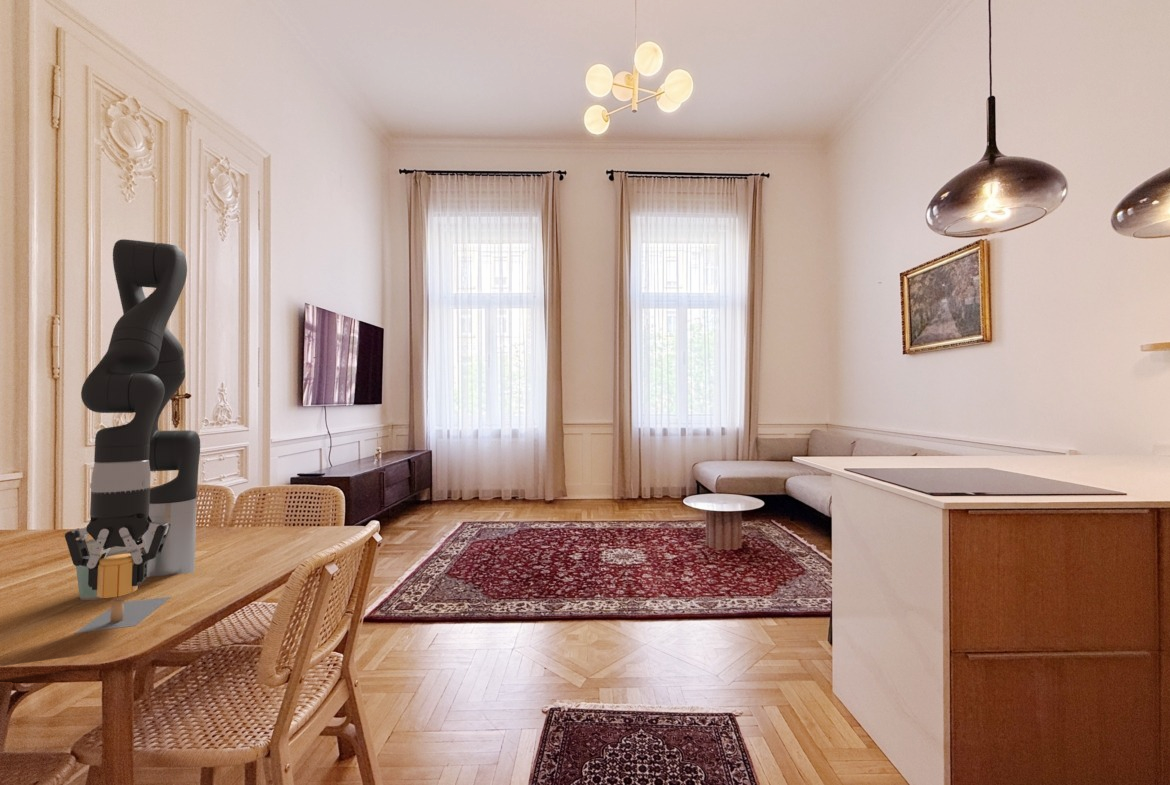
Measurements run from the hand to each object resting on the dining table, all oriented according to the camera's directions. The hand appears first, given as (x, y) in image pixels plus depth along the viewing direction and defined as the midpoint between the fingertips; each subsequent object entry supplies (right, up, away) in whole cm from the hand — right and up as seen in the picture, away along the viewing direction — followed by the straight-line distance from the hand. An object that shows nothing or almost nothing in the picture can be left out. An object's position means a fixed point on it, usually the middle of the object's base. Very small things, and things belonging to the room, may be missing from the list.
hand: (117, 586), depth 85 cm
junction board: (-1, -8, +3) cm, 8 cm away
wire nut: (0, -1, 0) cm, 1 cm away
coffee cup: (-15, -8, +13) cm, 21 cm away
